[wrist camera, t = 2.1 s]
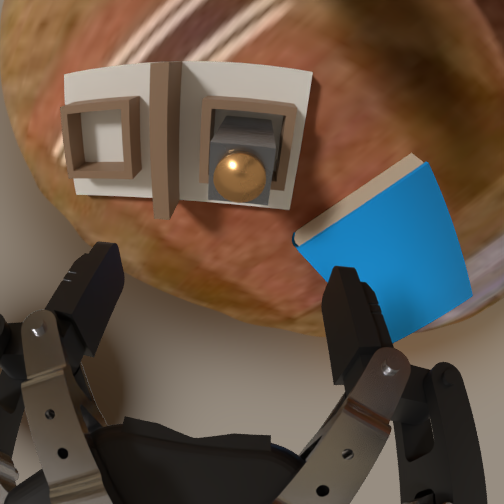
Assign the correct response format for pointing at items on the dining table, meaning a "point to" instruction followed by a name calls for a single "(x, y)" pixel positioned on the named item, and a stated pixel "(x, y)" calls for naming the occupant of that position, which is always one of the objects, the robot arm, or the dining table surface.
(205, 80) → the plate
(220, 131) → the peg
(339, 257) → the book
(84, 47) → the dining table surface
